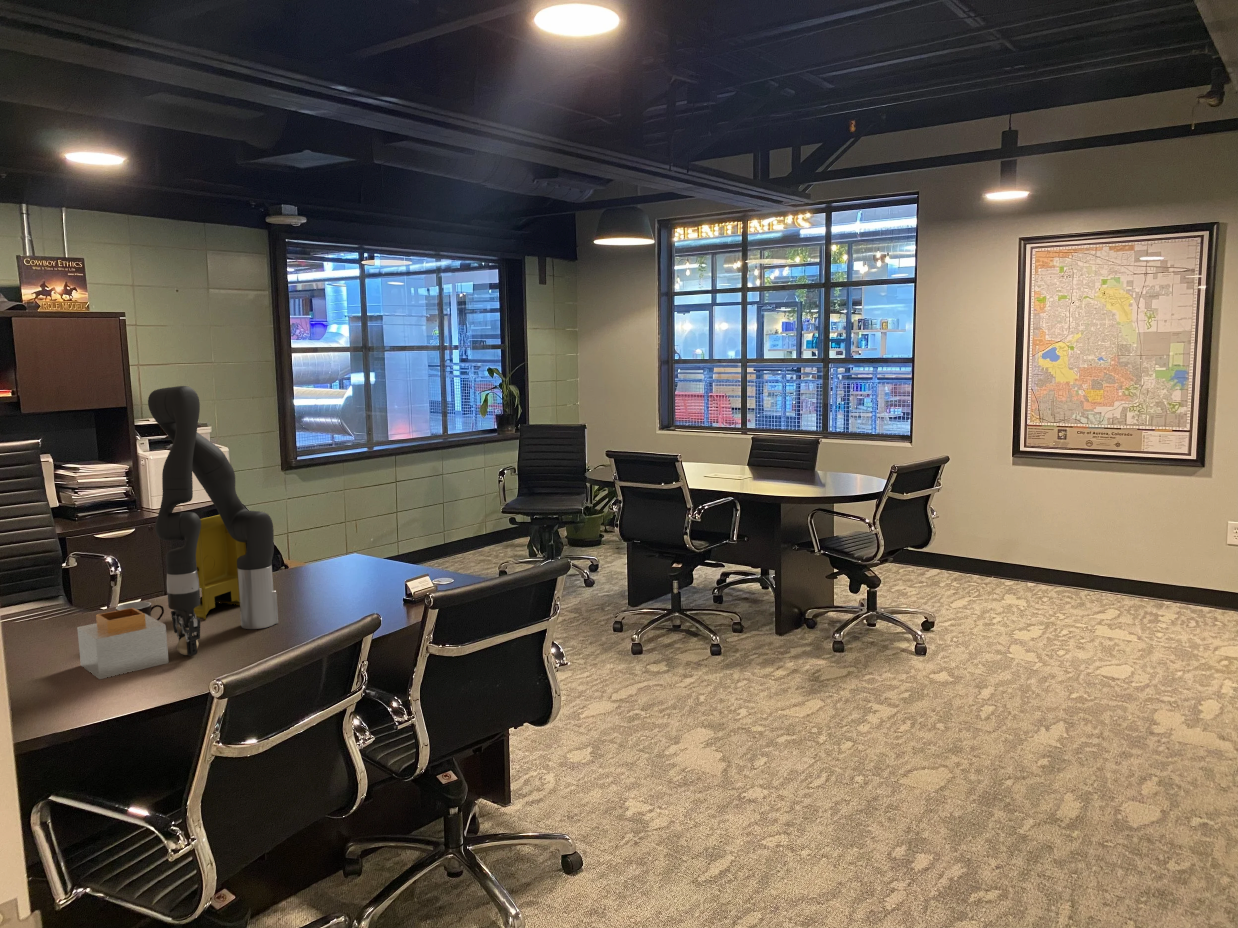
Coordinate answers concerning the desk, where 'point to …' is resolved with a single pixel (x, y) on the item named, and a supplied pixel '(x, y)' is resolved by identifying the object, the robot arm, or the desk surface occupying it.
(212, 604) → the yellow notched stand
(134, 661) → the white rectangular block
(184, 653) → the wooden ball
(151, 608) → the coffee mug
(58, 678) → the desk surface
